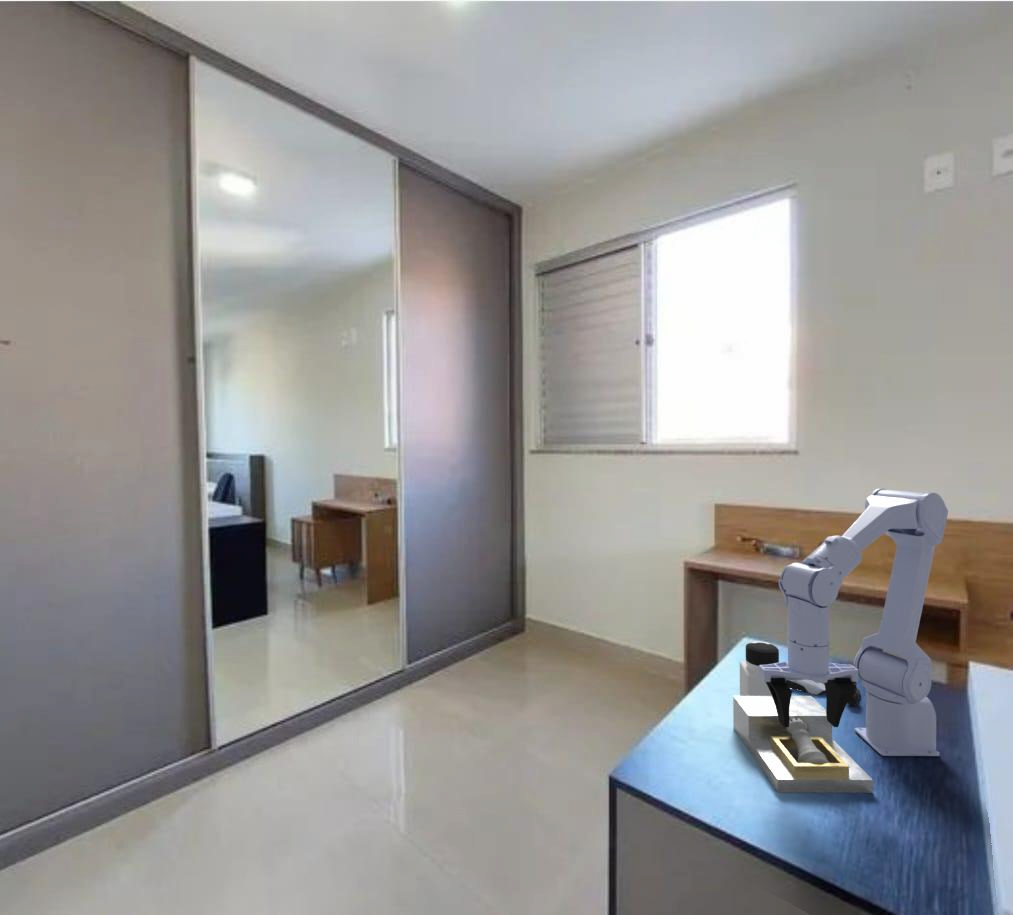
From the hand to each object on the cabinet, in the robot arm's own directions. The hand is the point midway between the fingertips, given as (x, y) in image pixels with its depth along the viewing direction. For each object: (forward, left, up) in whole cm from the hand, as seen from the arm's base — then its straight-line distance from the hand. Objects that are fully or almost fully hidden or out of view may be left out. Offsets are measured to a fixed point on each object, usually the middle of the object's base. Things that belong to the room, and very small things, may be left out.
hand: (808, 723), depth 86 cm
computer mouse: (-14, -29, -9) cm, 33 cm away
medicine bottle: (-2, -22, -8) cm, 24 cm away
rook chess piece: (0, +3, -6) cm, 7 cm away
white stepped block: (0, -5, -8) cm, 9 cm away
